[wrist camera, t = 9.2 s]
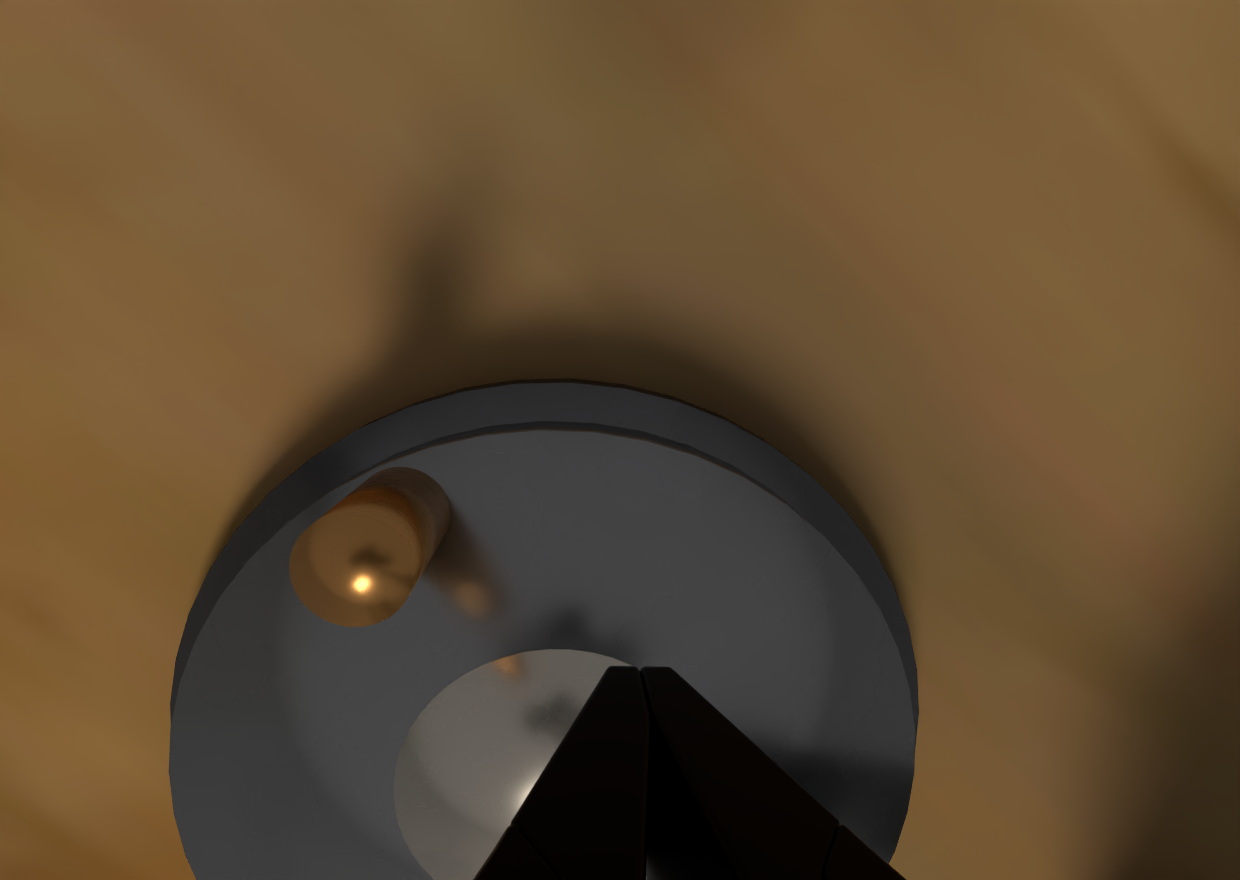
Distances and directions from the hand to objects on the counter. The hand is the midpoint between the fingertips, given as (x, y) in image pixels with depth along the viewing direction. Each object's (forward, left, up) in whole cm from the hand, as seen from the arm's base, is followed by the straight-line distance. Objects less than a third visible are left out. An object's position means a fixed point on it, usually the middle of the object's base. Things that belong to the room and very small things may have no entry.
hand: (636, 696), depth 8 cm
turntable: (+4, +8, -10) cm, 13 cm away
